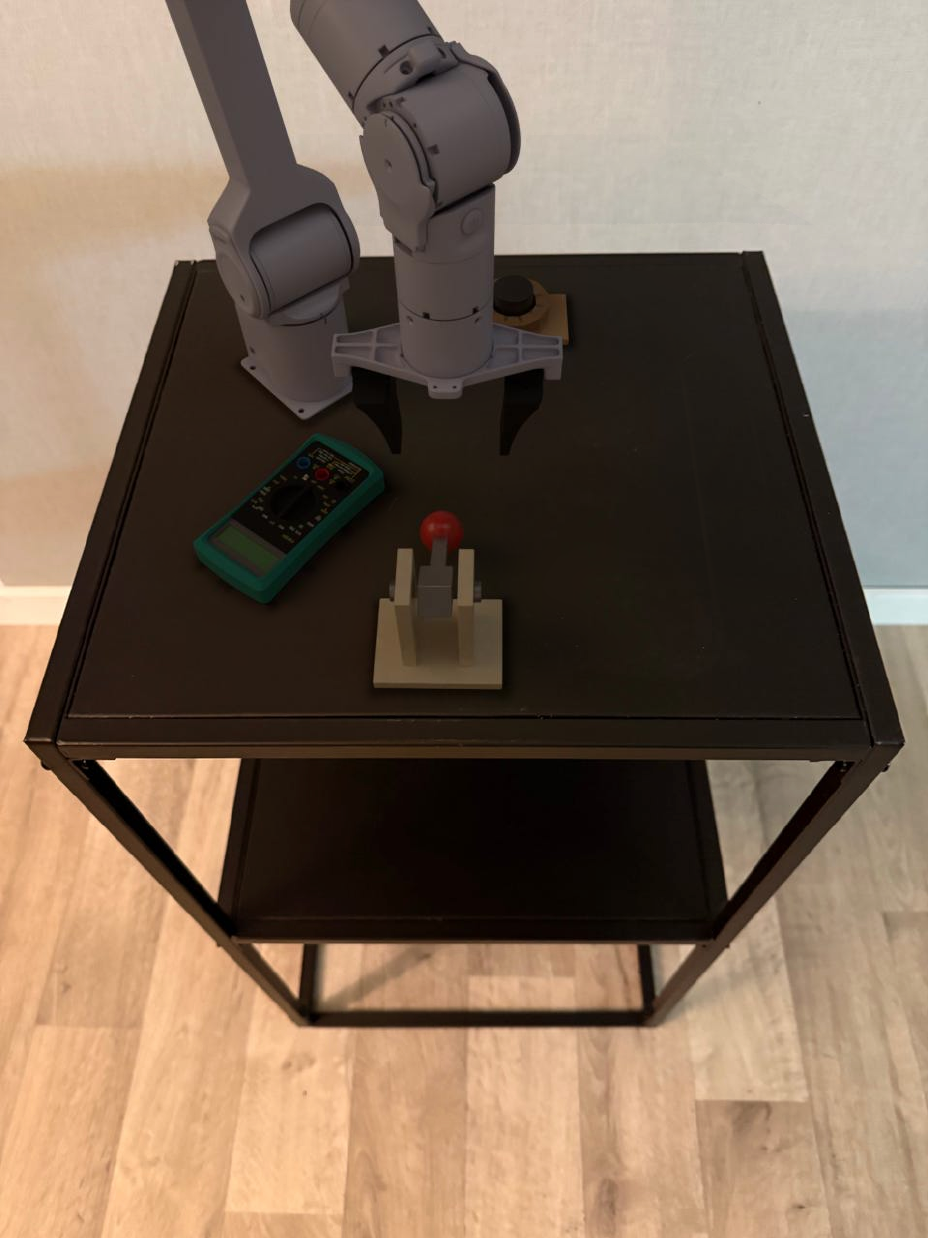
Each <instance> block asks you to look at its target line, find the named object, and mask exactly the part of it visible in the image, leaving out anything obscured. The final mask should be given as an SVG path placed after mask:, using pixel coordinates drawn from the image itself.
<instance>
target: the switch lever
mask: <svg viewBox="0 0 928 1238" xmlns="http://www.w3.org/2000/svg"><path fill="white" fill-rule="evenodd" d="M419 533H420V534H419V535H420V539H421V542H422V544H423V545H424V547H425V548H426V549H427V550H429V551H430V552H431V553H430V561H429V565H420V566H419V572H418V577H417V593H418V617H419V618H452V610H453V599H454V566H453V565H448V559H449V554H450V553H452V552H453V551H455V550H456V549H458V547H459V546H460V545H461V544H462V541H463V539H464V533H465V532H464V526H463V524H462V522H461V520H460V518H459V517H458V516H457V515H456V514H455V513H453V512H450V511H448V510H436V511H433V512H431V513H429V514H428V515H427V516H426V517H425V518H424V519H423V521H422V523H421V526H420V530H419Z"/></svg>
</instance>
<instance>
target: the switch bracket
mask: <svg viewBox="0 0 928 1238" xmlns="http://www.w3.org/2000/svg"><path fill="white" fill-rule="evenodd" d="M396 554H397V555H396V556H397V557H396V569H395V570H396V571H395V580H390V581H389V586H388V587H389V588H388V592H389V593H388V595H389V598H387V597H385V598H383V597H382V598H379V602H378V604H379V605H378V614H377V630H376V642H375V655H374V667H373V678H372V679H373V680H372V683H373V687H374V688H375V689H443V690H445V689H446V690H447V689H449V690H450V689H451V690H502V689H503V599H499V598H498V599H496V598H495V599H490V598H487V599H486V598H483V599H482V584H483V582H482V581H480V580H479V581H478V580H476V581H475V549H473V548H471V549H470V548H459V549H458V567H457V568H458V572H457V598H453V610H452V618H419V617H418V593H417V585H418V583H417V575H416V565H415V556H414V555H415V554H414V549H413V548H398V549H397V553H396Z"/></svg>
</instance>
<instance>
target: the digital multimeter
mask: <svg viewBox="0 0 928 1238" xmlns="http://www.w3.org/2000/svg"><path fill="white" fill-rule="evenodd" d="M384 478H385V477H384V471H383V470H381V468H380V467H379V466H378V465H377V464H375V462H374V461H373V460H372V459H370V458H369V456H367V455H366V454H365V453H363V452H362V451H361V450H359V449H358V448H356V447H354V446H353V445H351V444H349V443H347V442H344V441H343V440H339V439H337V438H335V437H331V436H328V435H326V434H323V433H319V432H316V433H313V434H312V435H311V436H310V437H309V438H308V439H307V440H306V441H305V442H304V443H303V444H302V445H301V446H300V447H299V448H298V449H297V450H296V451H295V452H294V453H293V454H292V455H291V456H290V457H289V458H288V459H287V460H286V461H285V462H283V464H282V465H280V466H279V467H278V468H277V469H276V470H275V471H274V472H273V473H272V474H271V475H270V476H269V477H268V478H267V479H266V480H264V481H263V482H262V483H261V484H260V485H259V486H258V487H256V488H255V490H253V491H252V492H251V493H250V494H249V495H247V496H246V497H245V498H244V499H242V501H240V503H238V504H237V505H236V506H235V507H234V508H233V509H232V510H230V511H229V512H227V513H226V514H225V515H224V516H223V517H222V518H220V519H219V520H218V521H217V522H215V523H214V524H213V525H212V526H210V527H209V528H208V529H206V531H204V532H203V533H202V534H201V535H200V536H198V537H197V538H196V539H195V540H194V541H193V544H192V545H193V548H194V551H195V553H196V555H197V558H198V559H199V561H200V562H201V563H202V564H203V565H205V566H206V567H207V568H208V569H209V570H210V571H211V572H213V573H215V575H217V576H218V577H219V578H221V580H223V581H224V582H226V583H228V584H229V585H230V586H232V587H233V588H234V589H237V591H239V592H241V593H242V594H245V595H246V596H248V597H250V598H251V599H253V600H255V601H256V602H258V603H260V604H268V603H270V602H271V601H272V600H273V599H274V598H275V597H276V596H277V595H278V593H279V592H280V591H281V590H282V589H283V588H284V587H285V586H286V585H287V584H288V582H290V581H291V580H292V579H293V577H294V576H295V575H297V573H298V572H299V571H300V570H301V569H302V567H304V565H306V564H307V562H308V561H309V560H311V558H312V557H314V555H315V554H317V553H318V552H319V550H320V549H322V548H323V546H324V545H325V544H326V543H328V542H329V540H330V539H331V538H332V537H333V536H335V535H336V534H337V533H338V532H339V531H340V530H341V529H343V528H344V527H345V525H347V524H348V523H349V522H350V521H351V520H352V519H353V518H355V516H356V515H358V514H359V513H360V512H361V511H362V510H363V509H364V508H365V507H367V506H368V505H369V504H370V503H371V502H372V501H374V500H375V499H376V498H377V497H378V496H379V495H381V493H383V492H384V490H385V489H386V486H385V485H386V484H385V479H384Z"/></svg>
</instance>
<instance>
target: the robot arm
mask: <svg viewBox="0 0 928 1238" xmlns="http://www.w3.org/2000/svg"><path fill="white" fill-rule="evenodd" d="M164 2H165V4H166V7H167V10H168V12H169V15H170V18H171V20H172V23H173V26H174V30H175V32H176V35H177V37H178V40H179V44H180V45H181V48H182V51H183V54H184V56H185V59H186V62H187V64H188V67H189V71H190V72H191V76H192V78H193V81H194V84H195V87H196V89H197V92H198V95H199V98H200V100H201V103H202V106H203V109H204V111H205V114H206V118H207V121H208V123H209V125H210V128H211V131H212V132H213V136H214V139H215V141H216V144H217V147H218V150H219V154H220V155H221V158H222V161H223V164H224V167H225V169H226V172H227V175H228V177H229V178H228V181H227V183H226V185H225V187H224V189H223V190H222V192H221V194H220V196H219V198H218V199H217V201H216V202H215V203H214V204H215V205H214V206H213V207H212V209H211V211H210V213H209V215H208V217H207V219H206V222H207V223H206V224H207V225H208V233H209V235H210V238H211V241H212V244H213V245H212V246H213V249H214V253H215V255H214V256H215V263H216V267H217V269H218V273H219V275H220V278H221V280H222V283H223V284H224V286H225V289H226V290H227V292H228V294H229V295H230V297H231V298H232V300H233V301H234V307H235V311H236V315H237V318H238V322H239V326H240V330H241V333H242V336H243V341H244V345H245V347H246V352H247V355H248V356H246V357H244V358H242V359H241V361H240V365H241V366H242V368H243V369H245V370H246V371H247V372H248V373H249V374H250V375H251V376H252V377H253V378H255V380H256V381H258V382H259V383H260V384H261V385H262V386H264V387H265V388H266V389H267V390H268V391H269V392H270V393H271V394H272V395H274V397H276V398H277V399H278V400H279V401H280V402H281V403H283V404H284V405H285V406H286V407H287V408H288V409H289V410H290V411H291V412H292V413H293V414H295V415H296V416H297V417H298V418H299V419H300V420H302V421H307V420H309V419H311V418H313V417H314V416H316V415H317V414H319V413H320V412H322V411H323V410H326V409H327V408H328V407H330V406H331V405H333V404H334V403H336V402H337V401H339V400H341V399H342V398H344V397H346V396H347V395H349V394H350V393H351V399H352V401H353V404H354V406H355V407H356V409H358V410H359V411H361V412H363V413H364V414H365V415H366V416H367V417H368V418H369V419H370V420H371V422H373V424H375V426H376V427H377V429H378V430H379V432H380V433H381V435H382V437H383V439H384V440H385V442H386V444H387V446H388V448H389V451H390V453H391V454H392V455H401V454H402V445H403V444H402V443H403V419H402V414H401V408H400V403H399V398H398V397H399V396H398V389H397V388H398V387H397V378H398V379H400V380H404V381H407V382H411V383H415V384H419V385H422V386H426V387H427V390H428V391H427V392H428V396H429V397H430V398H431V399H435V400H457V399H460V398H461V397H462V395H463V389H464V388H465V387H468V386H472V385H476V384H480V383H485V382H488V381H492V380H496V379H500V378H503V397H502V405H501V412H500V418H499V419H500V420H499V457H500V456H506V457H507V456H509V455H510V454H511V449H512V446H513V443H514V442H515V439H516V437H517V435H518V434H519V431H520V430H521V428H522V427H523V425H524V424H525V423H526V422H527V420H528V419H530V417H531V416H532V415H533V414H534V413H535V412H536V411H538V410H539V409H540V407H541V405H542V402H543V398H544V379H545V380H547V381H560V380H561V379H562V369H563V360H564V354H563V353H564V352H563V345H562V337H561V336H549V335H541V334H536V333H532V332H528V331H524V330H520V329H516V328H513V327H509V326H505V325H501V324H497V323H494V322H493V287H494V280H495V233H496V232H495V230H496V185H495V183H496V182H497V181H499V180H501V179H502V178H503V176H505V175H507V174H509V173H510V172H512V171H513V170H514V168H515V167H516V165H517V163H518V161H519V158H520V155H521V149H522V148H521V147H522V133H521V125H520V124H521V123H520V120H519V116H518V112H517V109H516V105H515V102H514V100H513V97H512V96H511V93H510V92H509V89H508V87H507V86H506V84H505V82H504V81H503V79H502V77H501V74H500V72H499V71H498V69H497V68H496V67H495V66H494V65H493V64H491V63H490V61H488V60H487V59H485V58H483V57H481V56H479V55H476V54H471V53H470V52H468V51H467V50H466V49H465V47H464V46H463V45H462V43H461V42H459V41H458V42H457V41H456V40H452V41H450V42H449V41H445V40H444V38H443V36H442V35H441V33H440V32H439V30H438V29H437V27H436V26H435V24H434V23H433V21H432V20H431V19H430V18H431V17H429V16H428V14H427V13H426V11H425V9H424V8H423V7H422V5H421V3H420V2H419V0H289V16H290V20H291V22H292V25H293V27H294V28H295V30H296V31H297V32H298V33H299V35H300V37H301V38H302V40H303V41H304V43H305V44H306V46H307V48H308V49H309V50H310V52H311V53H312V55H313V56H314V58H315V59H316V61H317V62H318V64H319V65H320V67H321V68H322V70H323V71H324V73H325V74H326V76H327V77H328V79H329V80H330V82H331V83H332V85H333V86H334V88H335V89H336V91H337V92H338V93H339V95H340V97H341V98H342V99H343V102H344V103H345V104H346V105H347V107H348V109H349V110H350V112H351V114H352V115H353V116H354V118H355V120H356V121H357V122H358V124H359V126H360V127H361V128H362V134H360V135H358V140H359V145H360V146H359V147H360V150H361V155H362V158H363V161H364V165H365V167H366V170H367V172H368V175H369V177H370V179H371V182H372V184H373V186H374V189H375V192H376V197H377V200H378V210H379V216H380V217H381V219H382V221H383V226H384V228H385V229H386V230H387V231H388V232H389V233H390V234H391V239H392V249H393V251H392V252H393V261H394V274H395V285H396V294H397V308H398V320H399V322H395V323H392V324H388V325H382V326H379V327H374V328H370V329H367V330H362V331H356V332H349V328H348V322H347V321H348V320H347V315H346V314H347V313H346V308H345V303H344V302H345V300H344V295H343V294H344V293H345V292H346V291H348V290H350V280H349V275H352V274H353V273H354V274H355V272H356V271H358V269H359V267H360V262H361V244H360V239H359V236H358V232H357V230H356V228H355V225H354V223H353V221H352V219H351V217H350V215H349V213H348V212H347V211H346V208H345V207H344V204H343V202H342V199H341V196H340V193H339V191H338V187H337V186H336V184H335V182H334V181H333V180H331V179H330V178H329V177H328V176H327V175H325V174H324V173H322V172H320V171H318V170H316V169H314V168H311V167H309V166H306V165H303V164H300V163H298V162H297V159H296V156H295V153H294V150H293V147H292V142H291V140H290V137H289V134H288V130H287V127H286V123H285V120H284V118H283V114H282V111H281V108H280V105H279V101H278V98H277V95H276V92H275V89H274V85H273V82H272V79H271V75H270V73H269V70H268V66H267V63H266V60H265V57H264V53H263V50H262V47H261V44H260V40H259V37H258V34H257V31H256V27H255V25H254V21H253V18H252V15H251V12H250V9H249V8H250V7H249V6H248V3H247V0H164ZM252 368H253V369H252ZM300 411H303V412H300Z"/></svg>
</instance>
